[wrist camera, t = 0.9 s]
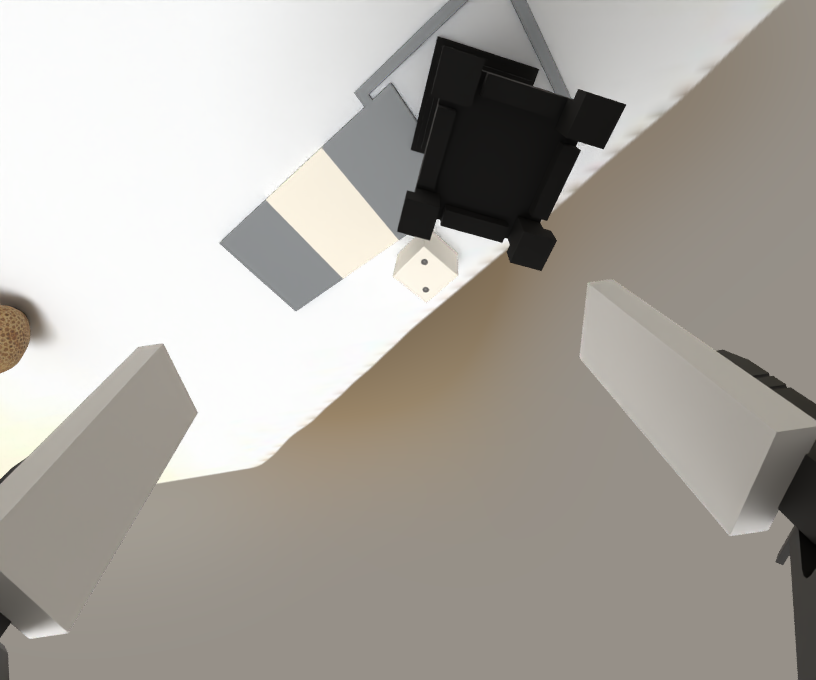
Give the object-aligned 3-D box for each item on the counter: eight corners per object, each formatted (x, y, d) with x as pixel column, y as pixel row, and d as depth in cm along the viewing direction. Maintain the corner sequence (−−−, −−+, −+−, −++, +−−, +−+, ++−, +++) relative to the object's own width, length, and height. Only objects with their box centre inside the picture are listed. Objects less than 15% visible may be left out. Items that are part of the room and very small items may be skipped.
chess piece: (537, 68, 31) (642, 95, 15) (497, 173, 36) (545, 280, 20) (437, 36, 30) (435, 28, 14) (410, 148, 35) (386, 237, 19)
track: (390, 82, 32) (390, 83, 32) (465, 192, 38) (465, 194, 37) (221, 241, 43) (219, 243, 43) (297, 309, 48) (295, 311, 48)
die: (426, 225, 40) (423, 247, 37) (457, 253, 42) (458, 276, 38) (397, 254, 43) (392, 277, 39) (428, 279, 44) (426, 303, 41)
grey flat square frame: (501, -51, 27) (502, -52, 27) (584, 128, 33) (585, 129, 33) (355, 91, 33) (354, 93, 33) (448, 219, 39) (448, 221, 39)
